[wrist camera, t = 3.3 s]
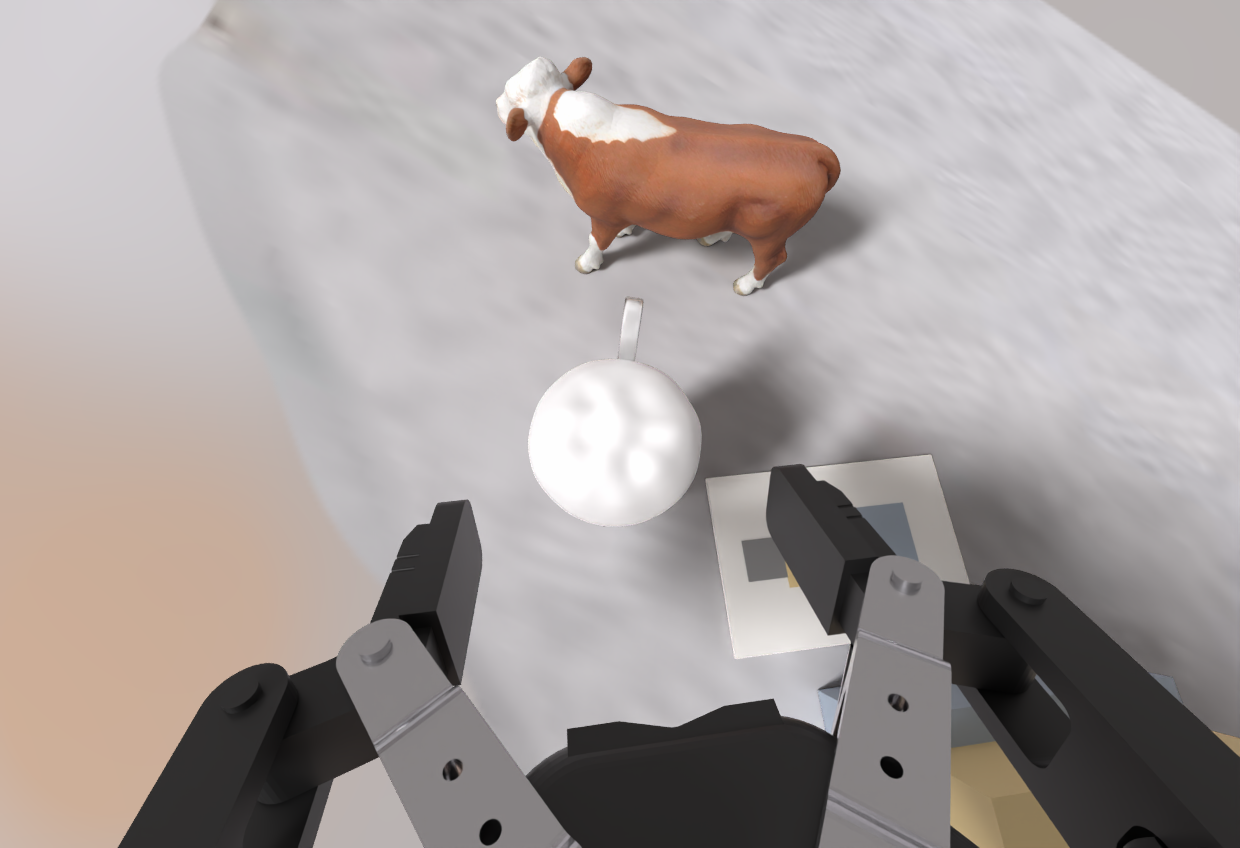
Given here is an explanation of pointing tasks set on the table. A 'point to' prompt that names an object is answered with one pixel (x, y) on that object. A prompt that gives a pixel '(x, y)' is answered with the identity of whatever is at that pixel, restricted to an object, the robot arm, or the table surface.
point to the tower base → (994, 779)
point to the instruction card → (759, 576)
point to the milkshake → (615, 437)
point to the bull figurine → (668, 168)
